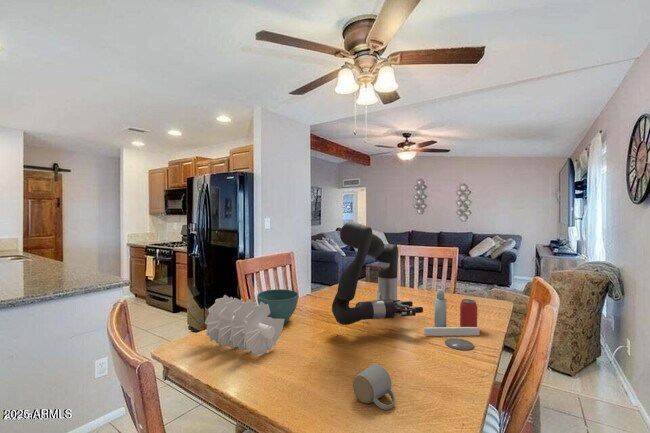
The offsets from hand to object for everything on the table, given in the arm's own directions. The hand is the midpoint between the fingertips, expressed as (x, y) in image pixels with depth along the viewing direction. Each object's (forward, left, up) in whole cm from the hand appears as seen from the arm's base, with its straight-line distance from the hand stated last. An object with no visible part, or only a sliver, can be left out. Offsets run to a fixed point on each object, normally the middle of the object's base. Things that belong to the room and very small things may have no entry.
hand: (417, 306), depth 135 cm
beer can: (+21, -1, -10) cm, 24 cm away
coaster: (+11, -16, -9) cm, 21 cm away
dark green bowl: (-59, +11, -10) cm, 61 cm away
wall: (+12, -7, -9) cm, 17 cm away
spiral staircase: (-68, -17, -10) cm, 71 cm away
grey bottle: (+11, +2, -10) cm, 15 cm away
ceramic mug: (-27, -49, -10) cm, 57 cm away
